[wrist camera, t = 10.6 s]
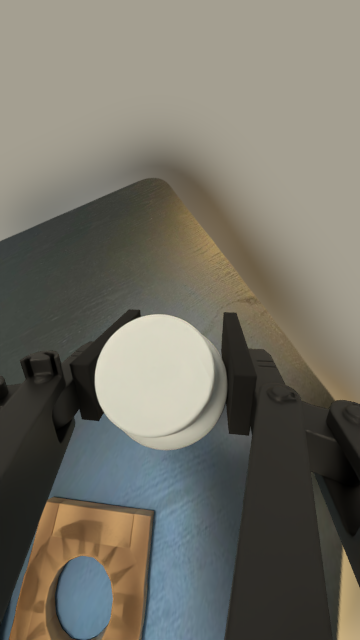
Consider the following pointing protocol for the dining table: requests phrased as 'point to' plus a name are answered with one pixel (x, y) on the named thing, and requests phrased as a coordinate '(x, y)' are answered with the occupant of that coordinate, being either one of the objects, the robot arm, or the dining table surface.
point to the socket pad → (93, 541)
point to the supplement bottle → (161, 382)
